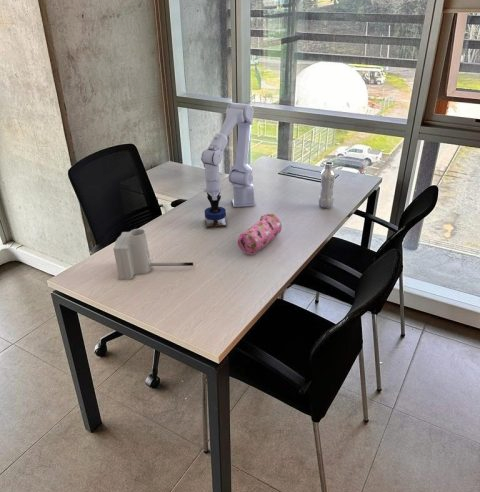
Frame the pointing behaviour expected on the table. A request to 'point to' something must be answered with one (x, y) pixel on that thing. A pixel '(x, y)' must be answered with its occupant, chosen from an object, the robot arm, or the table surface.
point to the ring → (215, 214)
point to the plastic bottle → (327, 186)
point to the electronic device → (135, 255)
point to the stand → (215, 222)
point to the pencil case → (259, 234)
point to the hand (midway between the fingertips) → (214, 209)
